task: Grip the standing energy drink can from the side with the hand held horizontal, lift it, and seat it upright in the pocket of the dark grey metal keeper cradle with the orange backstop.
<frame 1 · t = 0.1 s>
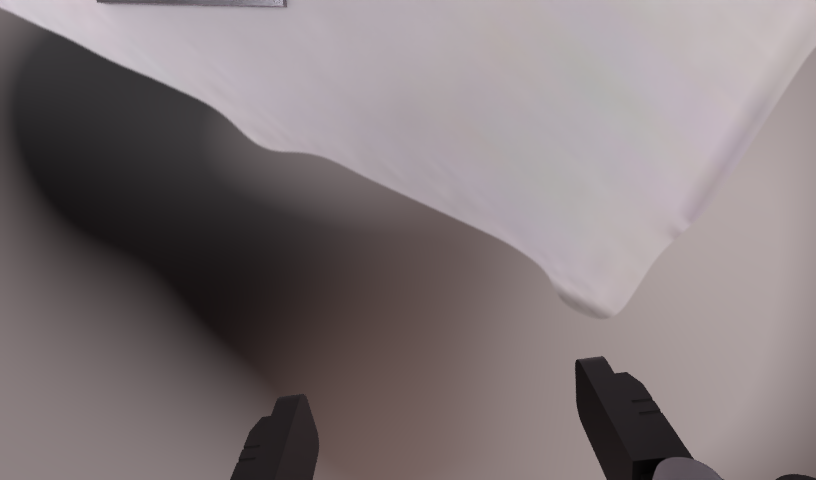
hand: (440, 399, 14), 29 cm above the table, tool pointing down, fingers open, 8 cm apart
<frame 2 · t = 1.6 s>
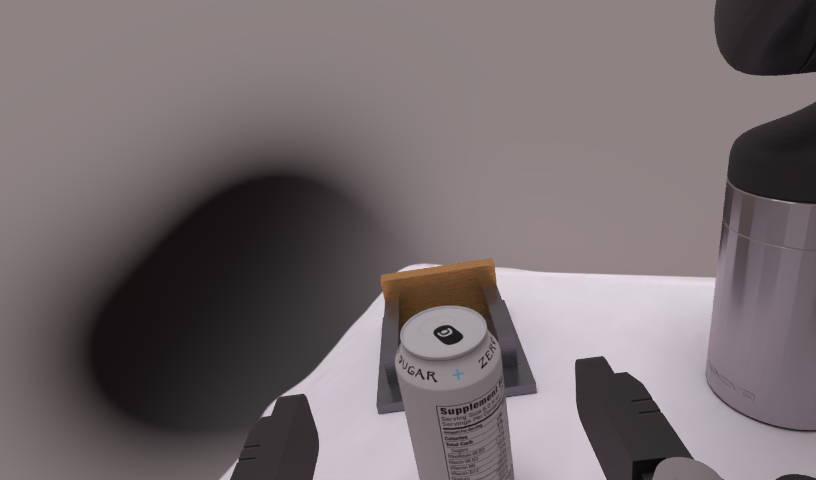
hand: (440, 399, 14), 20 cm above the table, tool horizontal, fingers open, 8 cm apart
keeper cradle: (449, 353, 48), on the table
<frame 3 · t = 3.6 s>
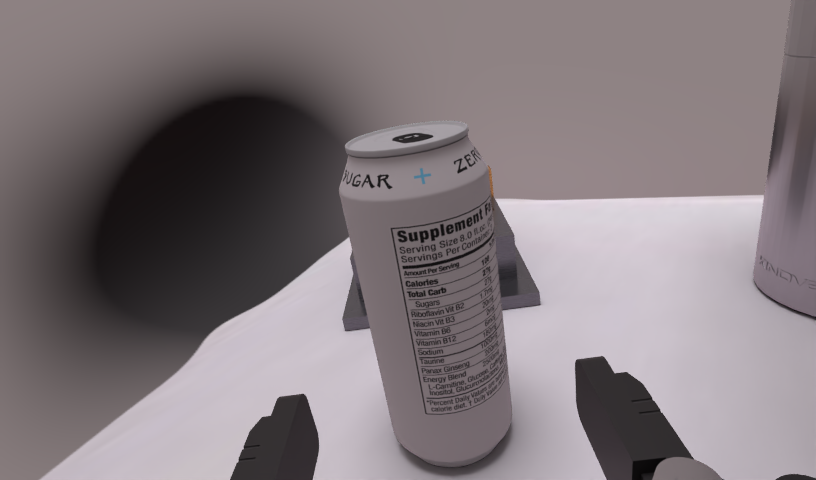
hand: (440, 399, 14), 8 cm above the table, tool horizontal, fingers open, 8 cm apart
keeper cradle: (436, 273, 40), on the table
energy drink can: (453, 429, 24), on the table
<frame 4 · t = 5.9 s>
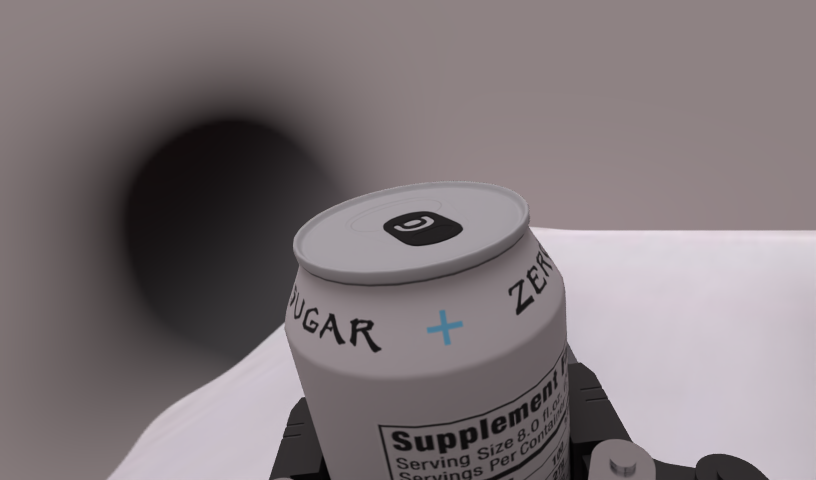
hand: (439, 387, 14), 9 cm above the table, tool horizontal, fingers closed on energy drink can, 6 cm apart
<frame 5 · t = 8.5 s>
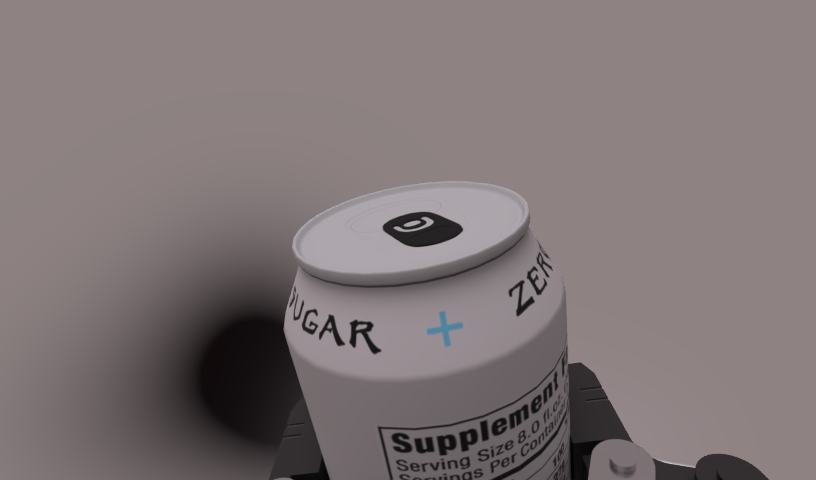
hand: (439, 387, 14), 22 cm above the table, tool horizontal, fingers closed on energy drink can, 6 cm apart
when the fingers open (11 cm above the table, at t = 11.4 s): energy drink can drops 1 cm, resting on keeper cradle.
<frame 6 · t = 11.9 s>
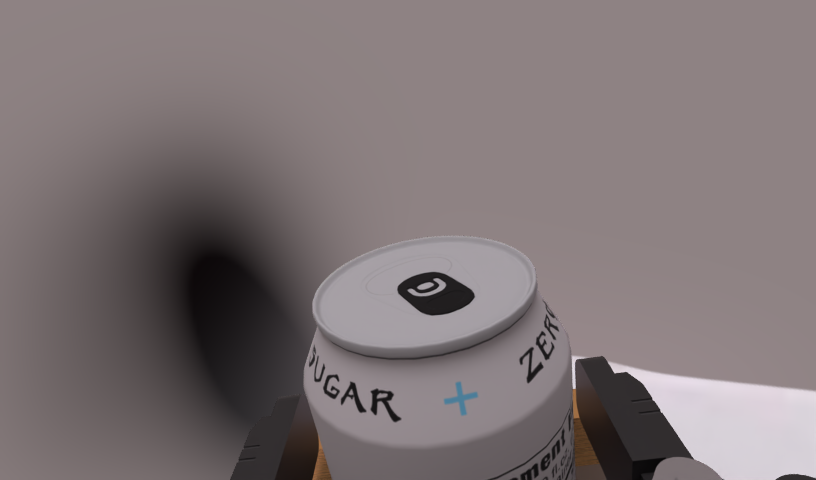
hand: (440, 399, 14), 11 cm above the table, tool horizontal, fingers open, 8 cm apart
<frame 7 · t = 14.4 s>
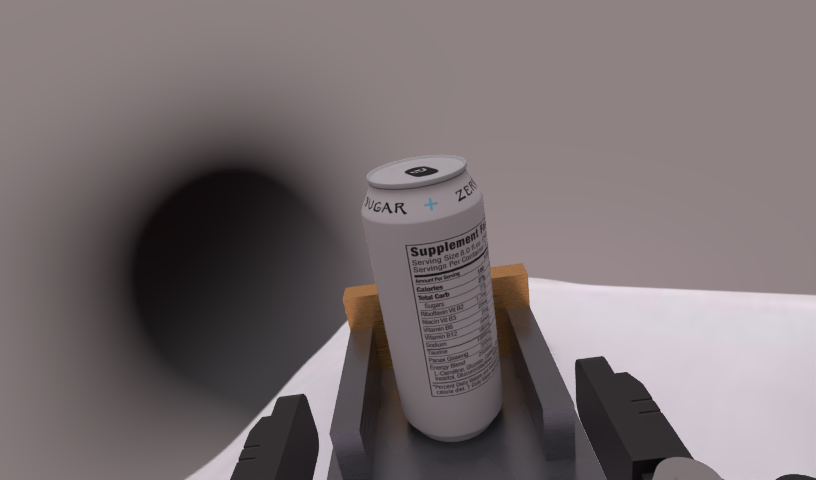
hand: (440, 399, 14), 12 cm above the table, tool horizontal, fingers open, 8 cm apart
keeper cradle: (453, 421, 29), on the table
energy drink can: (454, 412, 28), point 1 cm above the table, touching keeper cradle
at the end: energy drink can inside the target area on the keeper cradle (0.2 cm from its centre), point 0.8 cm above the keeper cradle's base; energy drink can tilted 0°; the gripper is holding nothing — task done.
